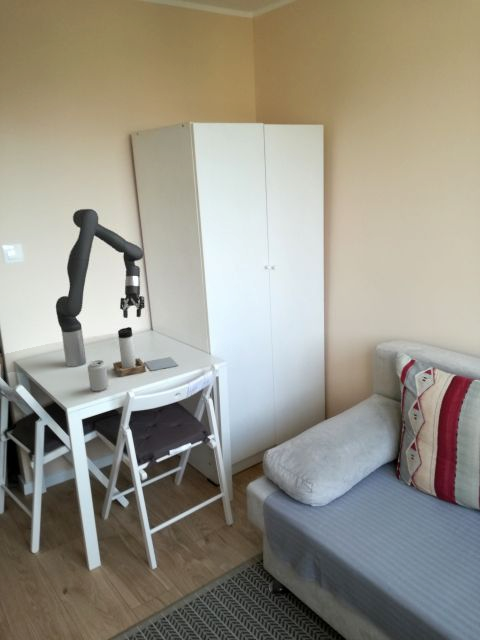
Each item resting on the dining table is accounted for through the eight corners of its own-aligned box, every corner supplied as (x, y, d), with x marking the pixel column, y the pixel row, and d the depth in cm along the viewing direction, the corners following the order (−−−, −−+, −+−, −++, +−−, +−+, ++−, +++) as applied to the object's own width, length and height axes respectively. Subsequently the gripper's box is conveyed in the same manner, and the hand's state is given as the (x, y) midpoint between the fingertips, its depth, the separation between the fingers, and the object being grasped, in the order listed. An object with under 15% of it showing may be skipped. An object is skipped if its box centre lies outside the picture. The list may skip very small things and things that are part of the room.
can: (110, 390, 214) (106, 363, 211) (91, 393, 212) (87, 366, 209) (107, 384, 221) (104, 358, 218) (89, 387, 219) (86, 360, 215)
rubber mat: (151, 371, 233) (151, 370, 233) (144, 362, 245) (144, 361, 245) (178, 366, 238) (178, 365, 238) (170, 357, 250) (170, 356, 250)
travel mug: (139, 369, 237) (135, 327, 232) (129, 373, 232) (124, 331, 226) (129, 367, 240) (125, 326, 235) (119, 371, 235) (114, 330, 229)
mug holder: (118, 377, 228) (118, 371, 227) (113, 368, 239) (112, 362, 238) (146, 372, 233) (145, 365, 232) (139, 363, 244) (139, 357, 243)
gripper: (117, 286, 261) (116, 317, 260) (138, 283, 254) (137, 315, 253) (127, 288, 268) (126, 318, 266) (148, 285, 261) (147, 317, 259)
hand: (132, 317), depth 260 cm, fingers open, 8 cm apart
